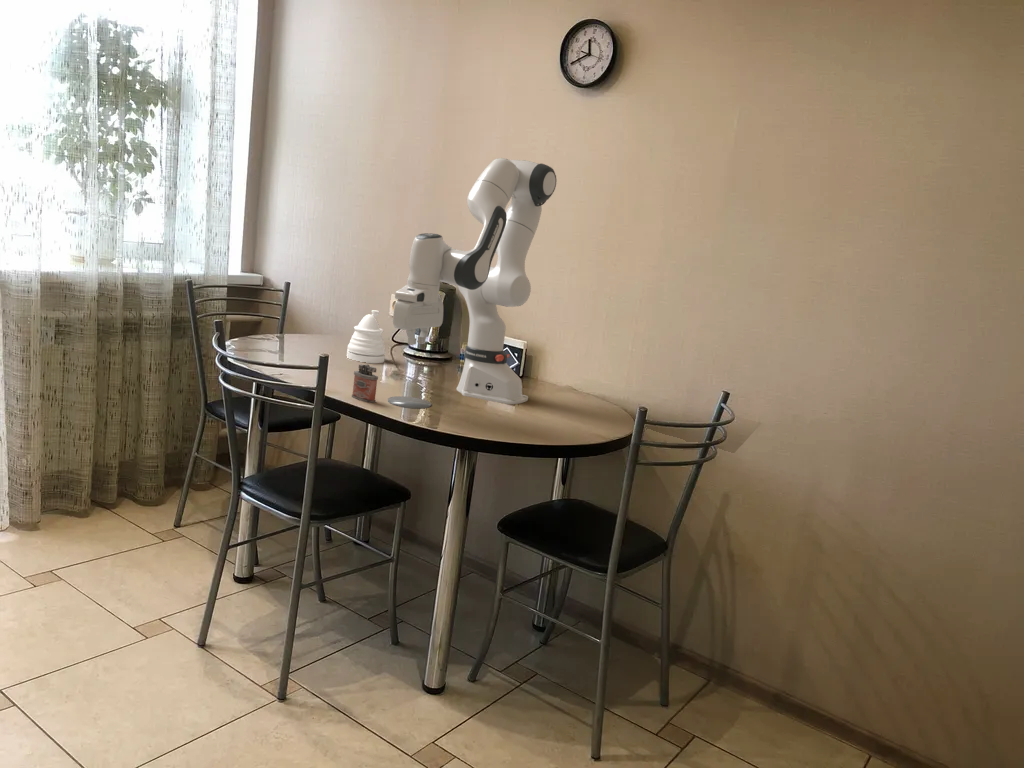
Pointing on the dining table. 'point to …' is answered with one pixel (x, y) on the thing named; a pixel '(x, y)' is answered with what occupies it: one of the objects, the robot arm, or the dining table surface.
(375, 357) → the honey pot
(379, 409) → the dining table surface
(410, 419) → the dining table surface
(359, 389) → the lighter
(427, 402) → the coaster
